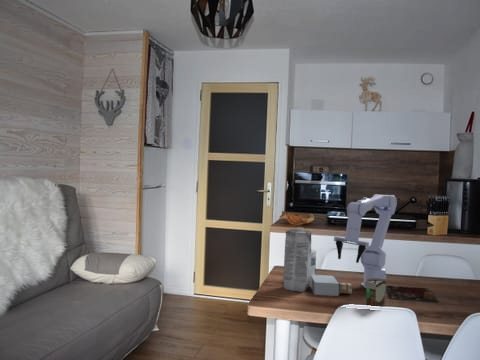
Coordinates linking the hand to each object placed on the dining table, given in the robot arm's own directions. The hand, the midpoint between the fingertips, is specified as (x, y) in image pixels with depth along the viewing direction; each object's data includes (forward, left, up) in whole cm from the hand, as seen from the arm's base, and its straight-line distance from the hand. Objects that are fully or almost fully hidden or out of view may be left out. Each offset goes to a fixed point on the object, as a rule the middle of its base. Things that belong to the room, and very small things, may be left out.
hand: (348, 260), depth 176 cm
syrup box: (+14, -21, -14) cm, 29 cm away
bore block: (+9, -3, -14) cm, 17 cm away
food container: (-7, +15, -14) cm, 22 cm away
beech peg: (+3, 0, -13) cm, 14 cm away
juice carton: (+21, -3, -14) cm, 26 cm away
